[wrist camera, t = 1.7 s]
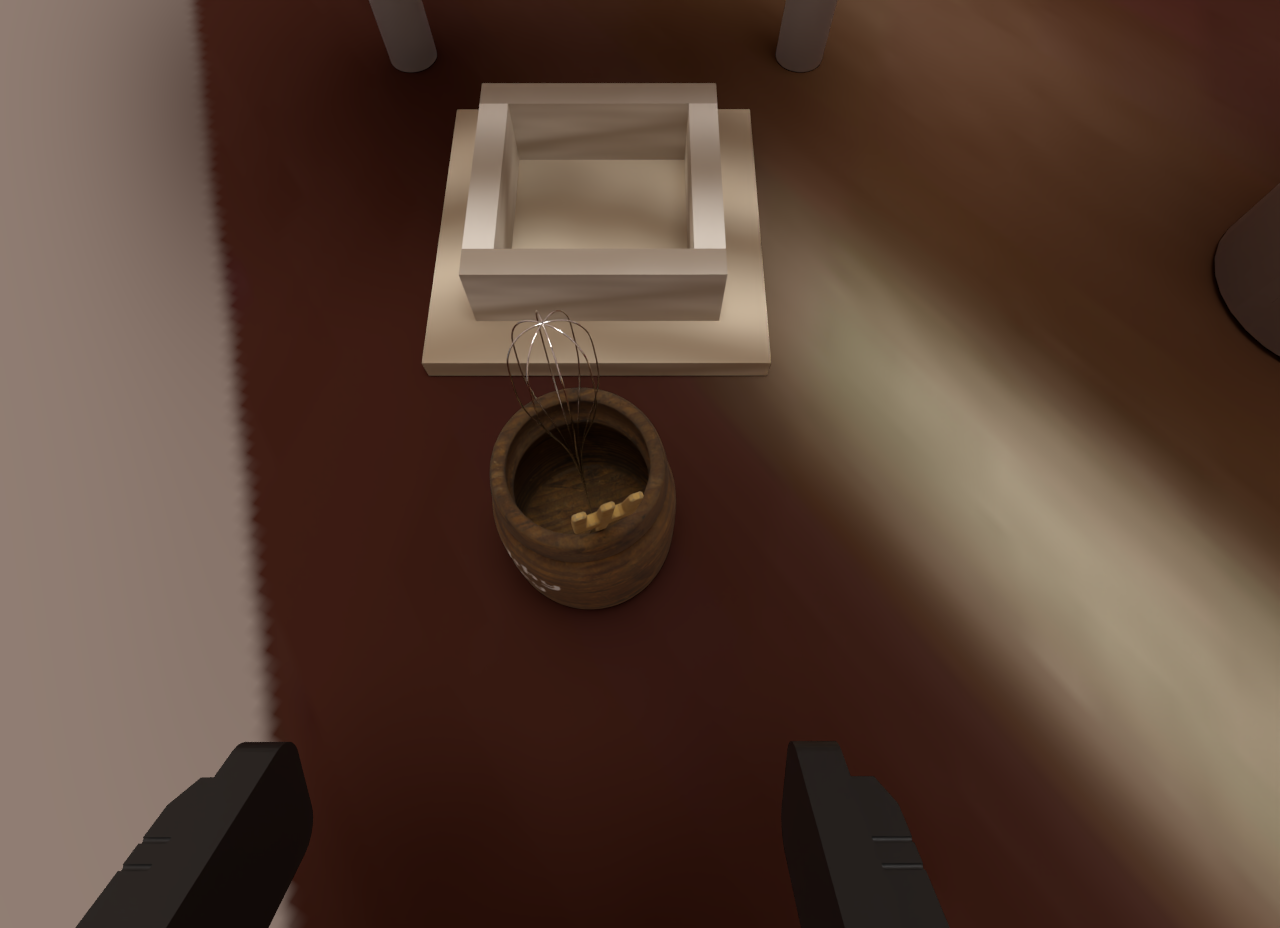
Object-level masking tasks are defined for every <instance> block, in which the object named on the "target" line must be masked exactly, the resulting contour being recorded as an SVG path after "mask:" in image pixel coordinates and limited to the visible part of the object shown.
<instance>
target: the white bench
mask: <svg viewBox="0 0 1280 928" xmlns="http://www.w3.org/2000/svg"><path fill="white" fill-rule="evenodd" d="M369 2H370V5H371V8H372V10H373V13H374V16H375V19H376V21H377V24H378V27H379V30H380V33H381V35H382V38H383V41H384V44H385V46H386V49H387V52H388V55H389V58H390V60H391V63H392V65H393V66H394V67H395V68H396V69H398V70H400V71H403V72H419V71H422V70H425V69H427V68H428V67H430V66H431V65H432V64H433V63H434V62H435V60H436V58H437V51H436V48H435V44H434V41H433V37H432V34H431V30H430V27H429V23H428V20H427V17H426V13H425V10H424V6H423V3H422V0H369ZM836 4H837V0H786V3H785V8H784V13H783V18H782V24H781V29H780V34H779V39H778V44H777V49H776V59H777V61H778V62H779V64H780V65H781V66H783V67H784V68H786V69H788V70H791V71H794V72H807V71H811V70H813V69H815V68H816V67H818V66H819V65H820V63H821V61H822V57H823V53H824V49H825V46H826V42H827V38H828V34H829V30H830V27H831V23H832V19H833V15H834V11H835V7H836Z"/></svg>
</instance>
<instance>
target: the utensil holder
mask: <svg viewBox="0 0 1280 928" xmlns="http://www.w3.org/2000/svg"><path fill="white" fill-rule="evenodd" d="M555 312H562V313H564V314H565V315H566V316H567V318H568V320H566V319H555V320H549V321H546V319H547V318H548V317H549V316H550V315H552V314H553V313H555ZM537 314H538V316H539V319H540V321H541V322H539V321H538V316H537ZM535 315H536V320H537V321H535V320H523V321H520V322H518V323H517V324H515V326H514V327H513V329H512V332H511V340H512V344H511V346H510V348H509V351H508V354H507V368H508V372H509V376H510V380H511V383H512V386H513V390H514V392H515V395H516V397H517V399H518V401H519V403H520V405H521V407H522V408H521V409H520V410H519V411H518V412H517V413H516V414H515V415H514V416H513V417H512V418H511V419H510V420H509V421H508V422H507V424H506V425H505V426H504V428H503V429H502V431H501V433H500V434H499V436H498V438H497V441H496V443H495V446H494V449H493V452H492V456H491V462H490V487H491V494H492V503H493V514H494V519H495V524H496V527H497V530H498V533H499V535H500V538H501V540H502V542H503V544H504V546H505V548H506V550H507V552H508V553H509V555H510V556H511V558H512V560H513V561H514V563H515V564H516V566H517V567H518V569H519V570H520V571H521V573H522V574H523V575H524V577H525V578H526V579H527V580H528V581H529V582H530V584H531V585H532V586H533V587H535V588H536V589H537V590H538V591H539V592H540V593H542V594H543V595H545V596H546V597H548V598H550V599H551V600H553V601H555V602H558V603H560V604H562V605H565V606H569V607H573V608H578V609H602V608H607V607H611V606H615V605H618V604H620V603H623V602H625V601H627V600H629V599H631V598H632V597H634V596H636V595H637V594H638V593H640V592H641V591H642V590H643V589H644V588H646V587H647V586H648V585H649V584H650V583H651V581H652V580H653V579H654V578H655V576H656V575H657V574H658V572H659V571H660V569H661V567H662V565H663V563H664V561H665V559H666V557H667V554H668V551H669V548H670V544H671V540H672V535H673V528H674V521H675V512H676V491H675V483H674V479H673V474H672V471H671V468H670V466H669V464H668V461H667V457H666V453H665V450H664V447H663V444H662V442H661V440H660V437H659V435H658V433H657V431H656V429H655V428H654V426H653V424H652V423H651V422H650V420H649V419H648V418H647V417H646V416H645V415H644V413H643V412H642V411H640V410H639V409H638V408H637V407H636V406H635V405H633V404H632V403H630V402H629V401H627V400H625V399H624V398H622V397H620V396H618V395H615V394H613V393H610V392H607V391H603V390H599V389H598V388H599V366H598V361H597V356H596V352H595V347H594V343H593V340H592V337H591V335H590V333H589V332H588V331H587V330H586V329H585V328H584V327H583V326H582V325H580V324H579V323H577V322H574V321H571V320H570V318H569V316H568V315H567V314H566V313H565V312H564V311H562V310H555V311H553V312H551V313H550V314H549V315H548V316H547V317H546V318H545V319H544V320H543V321H542V319H541V316H540V314H539V312H538V311H537V310H536V311H535ZM555 321H567V322H569V323H570V326H571V330H572V334H573V338H574V340H573V339H572V338H570V337H569V336H568V335H567V334H565V333H564V332H562V331H561V330H559V329H557V328H556V327H553V326H551V325H549V324H546V323H549V322H555ZM522 322H536V323H537V324H536V325H534V326H532V327H530V328H528V329H526V330H525V331H523V332H522V333H521V334H520V335H518V336H517V337H516V339H515V340H514V341H513V332H514V329H515V327H516V326H517V325H518V324H520V323H522ZM571 323H574V324H577V325H578V326H580V327H581V328H583V329H584V330H585V331H586V332H587V334H588V335H589V337H590V340H591V343H592V346H593V351H594V355H595V359H596V364H597V371H598V384H597V389H596V388H595V384H594V379H593V375H592V371H591V367H590V364H589V361H588V359H587V357H586V355H585V354H584V352H583V351H582V349H581V348H580V347H579V346H578V344H577V343H576V339H575V335H574V331H573V327H572V324H571ZM544 325H546V326H549V327H551V328H553V329H555V330H557V331H559V332H561V333H562V334H564V335H565V336H566V337H568V338H569V339H570V340H571V341H572V342H573V343H574V344H575V347H576V352H577V358H578V369H579V388H568V389H565V388H564V384H563V380H562V376H561V373H560V370H559V366H558V363H557V360H556V357H555V354H554V351H553V348H552V345H551V342H550V339H549V337H548V334H547V331H546V329H545V326H544ZM536 326H538V329H537V331H536V333H535V335H534V337H533V340H532V342H531V345H530V349H529V353H528V358H527V368H526V376H527V381H526V379H525V377H524V374H523V372H522V369H521V366H520V363H519V360H518V356H517V353H516V349H515V345H514V343H515V342H516V340H517V339H518V338H519V337H520V336H521V335H522V334H524V333H525V332H527V331H528V330H530V329H532V328H534V327H536ZM541 326H543V329H544V331H545V334H546V336H547V339H548V342H549V345H550V348H551V351H552V354H553V357H554V360H555V363H556V366H557V369H558V373H559V376H560V380H561V383H562V387H563V389H562V390H557V386H556V383H555V380H554V376H553V373H552V369H551V366H550V362H549V359H548V355H547V352H546V348H545V344H544V340H543V336H542V333H541V329H540V328H541ZM538 331H539V332H540V335H541V339H542V343H543V347H544V350H545V354H546V358H547V361H548V365H549V368H550V372H551V375H552V378H553V382H554V385H555V388H556V391H554V392H551V393H548V394H545V395H543V396H541V397H538V398H536V396H535V395H534V393H533V392H532V390H531V388H530V384H529V378H528V366H529V358H530V353H531V349H532V345H533V342H534V340H535V337H536V335H537V333H538ZM512 346H513V348H514V352H515V356H516V359H517V362H518V366H519V368H520V371H521V374H522V376H523V379H524V381H525V383H526V385H527V386H528V388H529V392H530V396H531V400H532V401H531V402H530V403H528V404H527V405H525V406H524V407H523V405H522V403H521V402H520V400H519V398H518V395H517V393H516V390H515V387H514V384H513V380H512V377H511V373H510V369H509V364H508V359H509V354H510V351H511V348H512ZM577 347H578V349H579V350H580V351H581V352H582V354H583V355H584V357H585V359H586V361H587V364H588V367H589V370H590V374H591V378H592V383H593V387H594V389H592V388H580V362H579V354H578V349H577ZM532 395H533V396H534V398H535V400H533V396H532Z"/></svg>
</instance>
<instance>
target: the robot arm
mask: <svg viewBox="0 0 1280 928" xmlns="http://www.w3.org/2000/svg"><path fill="white" fill-rule="evenodd" d="M1215 276H1216V280H1217V283H1218V286H1219V290H1220V293H1221V295H1222V297H1223V299H1224V300H1225V302H1226V304H1227V306H1228V308H1229V309H1230V311H1231V313H1232V314H1233V315H1234V316H1235V318H1236V319H1237V320H1238V321H1239V322H1240V324H1241V325H1242V326H1243V327H1244V329H1245V330H1246V331H1247V332H1248V333H1250V334H1251V335H1252V336H1253V337H1254V338H1255V339H1256V340H1258V341H1259V342H1260V343H1261V344H1262V345H1263V346H1264V347H1266V348H1267V349H1269V350H1270V351H1272V352H1273V353H1275V354H1276V355H1278V356H1280V183H1279V184H1278V185H1277V186H1276V187H1275V188H1274V189H1272V190H1271V191H1270V192H1269V193H1268V194H1267V195H1266V196H1265V197H1264V198H1262V199H1261V200H1260V201H1259V202H1258V203H1257V204H1256V205H1255V206H1253V207H1252V208H1251V209H1250V210H1249V211H1248V212H1247V213H1246V214H1245V215H1243V216H1242V217H1241V218H1240V219H1239V220H1238V221H1237V222H1236V223H1235V224H1233V225H1232V226H1231V227H1230V228H1229V229H1228V230H1227V231H1226V233H1225V234H1224V236H1223V237H1222V239H1221V240H1220V242H1219V244H1218V248H1217V251H1216V255H1215ZM781 820H782V836H783V844H784V850H785V855H786V860H787V864H788V869H789V874H790V878H791V883H792V888H793V892H794V897H795V901H796V906H797V911H798V915H799V920H800V925H801V928H949V925H948V923H947V921H946V918H945V916H944V913H943V911H942V908H941V906H940V904H939V901H938V899H937V896H936V894H935V892H934V889H933V887H932V884H931V882H930V879H929V877H928V875H927V872H926V870H924V869H923V863H922V860H921V858H920V855H919V853H918V850H917V848H916V846H915V843H913V842H912V838H911V837H912V836H911V834H910V831H909V829H908V826H907V824H906V821H905V819H904V817H903V814H902V812H901V809H900V807H899V805H898V803H897V802H896V801H895V800H894V799H893V797H892V796H891V795H890V794H889V793H888V792H887V791H886V790H885V789H884V787H883V786H882V785H881V784H880V783H879V782H878V781H877V780H876V778H875V777H874V776H850V773H849V771H848V768H847V765H846V762H845V759H844V756H843V754H842V751H841V748H840V746H839V744H838V743H837V742H836V741H791V742H790V743H789V745H788V751H787V760H786V770H785V780H784V790H783V800H782V813H781ZM312 826H313V810H312V805H311V801H310V797H309V793H308V790H307V786H306V782H305V778H304V774H303V770H302V766H301V762H300V758H299V754H298V750H297V748H296V746H295V745H294V744H293V743H292V742H244V743H241V744H239V745H238V746H237V747H236V748H235V749H234V750H233V751H232V752H231V754H230V755H229V757H228V758H227V760H226V761H225V762H224V764H223V765H222V767H221V768H220V769H219V771H218V772H217V774H216V775H215V777H213V778H212V777H210V778H200V779H199V780H198V781H196V782H195V783H194V784H193V785H191V786H190V787H189V788H188V789H187V790H186V791H184V792H183V793H182V794H180V795H179V796H178V797H177V798H176V799H174V800H173V801H172V802H171V803H170V804H168V805H167V806H166V808H165V809H164V810H163V812H162V813H161V814H160V816H159V817H158V819H157V820H156V821H155V822H154V824H153V825H152V827H151V828H150V829H149V830H148V832H147V833H146V834H145V836H144V837H143V838H144V839H143V842H142V844H138V845H137V846H136V848H135V849H134V850H133V852H132V853H131V854H130V856H129V857H128V858H127V860H126V861H125V862H124V864H123V869H122V870H121V871H118V872H117V873H116V874H115V876H114V877H113V878H112V880H111V881H110V882H109V884H108V885H107V886H106V888H105V889H104V891H103V892H102V893H101V895H100V896H99V897H98V898H97V900H96V901H95V903H94V904H93V905H92V906H91V908H90V909H89V910H88V912H87V913H86V915H85V916H84V917H83V918H82V920H81V921H80V923H79V924H78V925H77V926H76V928H269V926H270V924H271V922H272V919H273V917H274V915H275V913H276V911H277V909H278V907H279V905H280V903H281V901H282V899H283V897H284V895H285V893H286V891H287V889H288V887H289V885H290V883H291V881H292V879H293V877H294V875H295V873H296V871H297V869H298V867H299V865H300V863H301V861H302V859H303V857H304V855H305V852H306V850H307V847H308V844H309V841H310V837H311V833H312Z"/></svg>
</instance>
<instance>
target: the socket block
mask: <svg viewBox="0 0 1280 928" xmlns="http://www.w3.org/2000/svg"><path fill="white" fill-rule="evenodd" d="M536 310H537V311H538V312H539V314H540V316H541V319H542V321H543V320H544V319H545V318H546V317H547V316H548V315H549V314H550V313H551V312H553V311H555V310H562V311H564V312H565V313H566V314H567V315H568V316H569V318H570V320H571V321H574V322H577V323H579V324H580V325H582V326H583V327H584V328H585V329H586V330H587V331H588V332H589V333H590V335H591V337H592V340H593V343H594V347H595V352H596V356H597V361H598V366H599V376H767V374H768V371H769V368H770V365H771V355H770V343H769V331H768V319H767V307H766V296H765V284H764V272H763V260H762V248H761V236H760V225H759V213H758V201H757V189H756V177H755V165H754V153H753V142H752V130H751V118H750V109H718V107H717V91H716V83H482V88H481V96H480V104H479V109H457V114H456V121H455V128H454V135H453V143H452V150H451V157H450V164H449V171H448V179H447V186H446V193H445V200H444V207H443V214H442V222H441V229H440V236H439V243H438V250H437V258H436V265H435V272H434V279H433V286H432V294H431V301H430V308H429V315H428V322H427V329H426V337H425V344H424V351H423V358H422V364H423V366H424V368H425V370H426V372H427V373H428V375H429V376H509V372H508V368H507V354H508V351H509V348H510V346H511V344H512V340H511V332H512V329H513V327H514V326H515V324H517V323H518V322H520V321H523V320H535V321H537V320H536V315H535V311H536ZM537 316H538V314H537ZM555 319H566V320H568V318H567V316H566V315H565V314H564V313H562V312H555V313H553V314H552V315H550V316H549V317H548V318H547V319H546V321H549V320H555ZM538 321H539V322H541V321H540V319H539V316H538ZM536 324H537V323H536V322H522V323H520V324H518V325H517V326H516V327H515V329H514V332H513V341H514V340H515V339H516V337H517V336H518V335H520V334H521V333H522V332H523V331H525V330H526V329H528V328H530V327H532V326H534V325H536ZM546 324H549V325H551V326H553V327H556V328H557V329H559V330H561V331H562V332H564V333H565V334H567V335H568V336H569V337H570V338H572V339H573V340H574V338H573V334H572V330H571V326H570V323H569V322H567V321H555V322H549V323H546ZM571 324H572V327H573V331H574V335H575V339H576V343H577V344H578V346H579V347H580V348H581V349H582V351H583V352H584V354H585V355H586V357H587V359H588V361H589V364H590V367H591V371H592V375H593V376H598V371H597V364H596V359H595V355H594V351H593V346H592V343H591V340H590V337H589V335H588V334H587V332H586V331H585V330H584V329H583V328H581V327H580V326H578V325H577V324H574V323H571ZM544 326H545V329H546V331H547V334H548V337H549V339H550V342H551V345H552V348H553V351H554V354H555V357H556V360H557V363H558V366H559V370H560V373H561V376H579V369H578V358H577V352H576V347H575V344H574V343H573V342H572V341H571V340H570V339H569V338H568V337H566V336H565V335H564V334H562V333H561V332H559V331H557V330H555V329H553V328H551V327H549V326H546V325H544ZM537 329H538V326H536V327H534V328H532V329H530V330H528V331H527V332H525V333H524V334H522V335H521V336H520V337H519V338H518V339H517V340H516V342H515V343H514V345H515V349H516V353H517V356H518V360H519V363H520V366H521V369H522V372H523V374H524V376H526V368H527V358H528V353H529V349H530V345H531V342H532V340H533V337H534V335H535V333H536V331H537ZM540 329H541V333H542V336H543V340H544V344H545V348H546V352H547V355H548V359H549V362H550V366H551V369H552V373H553V376H559V373H558V369H557V366H556V363H555V360H554V357H553V354H552V351H551V348H550V345H549V342H548V339H547V336H546V334H545V331H544V329H543V326H541V328H540ZM577 349H578V347H577ZM578 354H579V362H580V376H591V374H590V370H589V367H588V364H587V361H586V359H585V357H584V355H583V354H582V352H581V351H580V350H579V349H578ZM508 364H509V369H510V373H511V376H522V374H521V371H520V368H519V366H518V362H517V359H516V356H515V352H514V348H513V346H512V348H511V351H510V354H509V359H508ZM528 376H552V375H551V372H550V368H549V365H548V361H547V358H546V354H545V350H544V347H543V343H542V339H541V335H540V332H539V331H538V333H537V335H536V337H535V340H534V342H533V345H532V349H531V353H530V358H529V366H528Z"/></svg>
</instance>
